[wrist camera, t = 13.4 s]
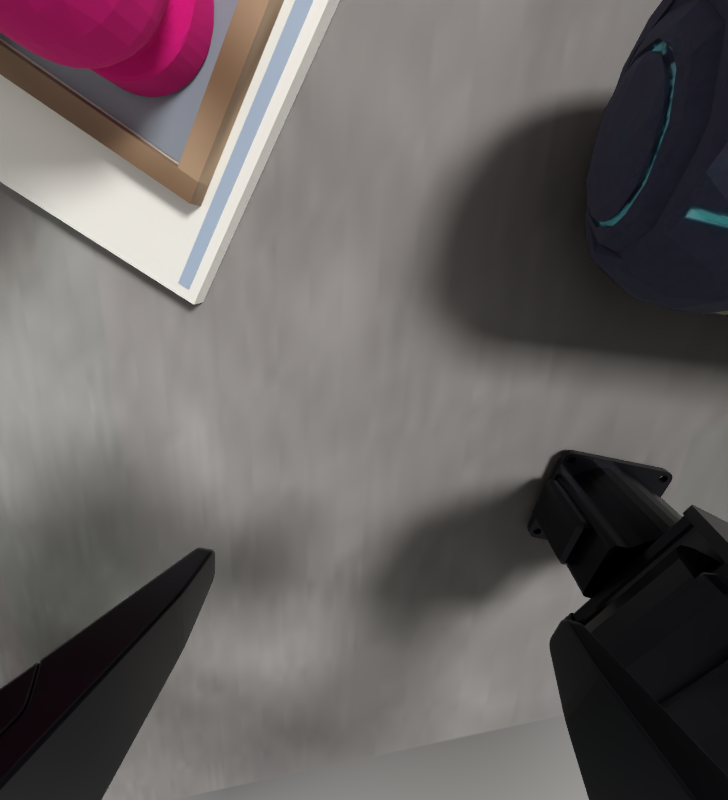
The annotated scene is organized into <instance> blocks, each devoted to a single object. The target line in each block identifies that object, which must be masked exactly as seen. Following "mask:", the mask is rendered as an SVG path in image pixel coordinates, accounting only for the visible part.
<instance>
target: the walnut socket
mask: <svg viewBox="0 0 728 800" xmlns="http://www.w3.org/2000/svg"><path fill="white" fill-rule="evenodd" d="M283 2H284V0H238V3H237V6H236V8H235V11H234V14H233V17H232V19H231V22H230V25H229V28H228V30H227V33H226V36H225V39H224V41H223V44H222V47H221V50H220V52H219V55H218V58H217V61H216V63H215V66H214V69H213V72H212V74H211V77H210V80H209V83H208V85H207V88H206V91H205V94H204V96H203V99H202V102H201V104H200V107H199V110H198V113H197V115H196V118H195V121H194V124H193V126H192V129H191V132H190V135H189V137H188V140H187V143H186V146H185V148H184V151H183V154H182V157H181V159H180V162H179V165H178V164H177V163H175V162H174V161H173V160H171V159H170V158H168V157H167V156H165V155H164V154H162V153H161V152H160V151H158V150H157V149H155V148H154V147H152V146H151V145H150V144H148V143H147V142H145V141H144V140H142V139H141V138H139V137H138V136H137V135H135V134H134V133H132V132H131V131H129V130H128V129H127V128H125V127H124V126H122V125H121V124H119V123H118V122H117V121H115V120H114V119H112V118H111V117H109V116H108V115H106V114H105V113H104V112H102V111H101V110H99V109H98V108H96V107H95V106H94V105H92V104H91V103H89V102H88V101H86V100H85V99H84V98H82V97H81V96H79V95H78V94H76V93H75V92H73V91H72V90H71V89H69V88H68V87H66V86H65V85H63V84H62V83H61V82H59V81H58V80H56V79H55V78H53V77H52V76H51V75H49V74H48V73H46V72H45V71H43V70H42V69H40V68H39V67H38V66H36V65H35V64H33V63H32V62H30V61H29V60H28V59H26V58H25V57H23V56H22V55H20V54H19V53H18V52H16V51H15V50H13V49H12V48H10V47H9V46H7V45H6V44H5V43H3V42H2V41H0V75H2V76H3V77H5V78H6V79H8V80H9V81H11V82H12V83H14V84H15V85H17V86H18V87H20V88H21V89H22V90H24V91H25V92H27V93H28V94H30V95H31V96H33V97H34V98H36V99H37V100H39V101H40V102H42V103H43V104H44V105H46V106H47V107H49V108H50V109H52V110H53V111H55V112H56V113H58V114H59V115H61V116H62V117H64V118H65V119H66V120H68V121H69V122H71V123H72V124H74V125H75V126H77V127H78V128H80V129H81V130H83V131H84V132H85V133H87V134H88V135H90V136H91V137H93V138H94V139H96V140H97V141H99V142H100V143H102V144H103V145H105V146H106V147H107V148H109V149H110V150H112V151H113V152H115V153H116V154H118V155H119V156H121V157H122V158H124V159H125V160H127V161H128V162H129V163H131V164H132V165H134V166H135V167H137V168H138V169H140V170H141V171H143V172H144V173H146V174H147V175H149V176H150V177H151V178H153V179H154V180H156V181H157V182H159V183H160V184H162V185H163V186H165V187H166V188H168V189H169V190H171V191H172V192H173V193H175V194H176V195H178V196H179V197H181V198H182V199H184V200H185V201H187V202H188V203H190V204H193V205H197V206H201V205H202V202H203V200H204V197H205V195H206V192H207V190H208V187H209V185H210V182H211V180H212V178H213V175H214V173H215V170H216V168H217V165H218V163H219V160H220V158H221V155H222V153H223V150H224V148H225V145H226V143H227V140H228V138H229V135H230V133H231V131H232V128H233V126H234V123H235V121H236V118H237V116H238V113H239V111H240V108H241V106H242V103H243V101H244V98H245V96H246V93H247V91H248V89H249V86H250V84H251V81H252V79H253V76H254V74H255V71H256V69H257V66H258V64H259V61H260V59H261V56H262V54H263V51H264V49H265V46H266V44H267V42H268V39H269V37H270V34H271V32H272V29H273V27H274V24H275V22H276V19H277V17H278V14H279V12H280V9H281V7H282V4H283Z"/></svg>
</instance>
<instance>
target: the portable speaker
mask: <svg viewBox="0 0 728 800" xmlns="http://www.w3.org/2000/svg"><path fill="white" fill-rule="evenodd" d="M586 190H587V209H586V223H585V234H586V238H587V242H588V246H589V250H590V254H591V258H592V259H593V260H594V261H595V262H596V263H597V264H598V265H599V266H600V267H601V268H602V269H603V270H604V271H605V272H606V273H607V274H608V275H609V276H610V277H611V278H612V279H613V280H614V281H615V282H616V283H617V284H618V285H619V286H620V287H621V288H622V289H623V290H624V291H625V292H627V293H628V294H629V295H630V296H631V297H632V298H635V299H638V300H641V301H645V302H648V303H651V304H655V305H658V306H661V307H664V308H668V309H671V310H678V311H686V312H695V313H704V314H708V313H716V314H723V315H728V0H663V1H662V2H661V3H660V5H659V6H658V7H657V9H656V10H655V11H654V13H653V14H652V15H651V17H650V18H649V20H648V22H647V24H646V26H645V28H644V29H643V31H642V33H641V35H640V37H639V39H638V41H637V42H636V44H635V46H634V48H633V50H632V52H631V54H630V56H629V57H628V59H627V61H626V63H625V65H624V67H623V69H622V72H621V75H620V78H619V81H618V84H617V86H616V89H615V92H614V94H613V96H612V98H611V99H610V101H609V103H608V105H607V107H606V109H605V111H604V114H603V117H602V121H601V124H600V128H599V131H598V135H597V139H596V143H595V147H594V150H593V154H592V159H591V163H590V167H589V171H588V176H587V180H586Z"/></svg>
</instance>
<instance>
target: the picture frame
mask: <svg viewBox="0 0 728 800" xmlns="http://www.w3.org/2000/svg"><path fill="white" fill-rule="evenodd" d="M339 1H340V0H284V2H283V4H282V7H281V9H280V12H279V14H278V17H277V19H276V22H275V24H274V27H273V29H272V32H271V34H270V37H269V39H268V42H267V44H266V46H265V49H264V51H263V54H262V56H261V59H260V61H259V64H258V66H257V69H256V71H255V74H254V76H253V79H252V81H251V84H250V86H249V89H248V91H247V93H246V96H245V98H244V101H243V103H242V106H241V108H240V111H239V113H238V116H237V118H236V121H235V123H234V126H233V128H232V131H231V133H230V135H229V138H228V140H227V143H226V145H225V148H224V150H223V153H222V155H221V158H220V160H219V163H218V165H217V168H216V170H215V173H214V175H213V178H212V180H211V182H210V185H209V187H208V190H207V192H206V195H205V197H204V200H203V202H202V205H201V206H197V205H193V204H190V203H188V202H187V201H185V200H184V199H182V198H181V197H179V196H178V195H176V194H175V193H173V192H172V191H171V190H169V189H168V188H166V187H165V186H163V185H162V184H160V183H159V182H157V181H156V180H154V179H153V178H151V177H150V176H149V175H147V174H146V173H144V172H143V171H141V170H140V169H138V168H137V167H135V166H134V165H132V164H131V163H129V162H128V161H127V160H125V159H124V158H122V157H121V156H119V155H118V154H116V153H115V152H113V151H112V150H110V149H109V148H107V147H106V146H105V145H103V144H102V143H100V142H99V141H97V140H96V139H94V138H93V137H91V136H90V135H88V134H87V133H85V132H84V131H83V130H81V129H80V128H78V127H77V126H75V125H74V124H72V123H71V122H69V121H68V120H66V119H65V118H64V117H62V116H61V115H59V114H58V113H56V112H55V111H53V110H52V109H50V108H49V107H47V106H46V105H44V104H43V103H42V102H40V101H39V100H37V99H36V98H34V97H33V96H31V95H30V94H28V93H27V92H25V91H24V90H22V89H21V88H20V87H18V86H17V85H15V84H14V83H12V82H11V81H9V80H8V79H6V78H5V77H3V76H2V75H0V182H1V183H3V184H5V185H6V186H8V187H9V188H11V189H12V190H14V191H16V192H17V193H19V194H20V195H22V196H23V197H25V198H27V199H28V200H30V201H31V202H33V203H34V204H36V205H38V206H39V207H41V208H42V209H44V210H45V211H47V212H49V213H50V214H52V215H53V216H55V217H56V218H58V219H60V220H61V221H63V222H64V223H66V224H68V225H69V226H71V227H72V228H74V229H75V230H77V231H79V232H80V233H82V234H83V235H85V236H86V237H88V238H90V239H91V240H93V241H94V242H96V243H97V244H99V245H101V246H102V247H104V248H105V249H107V250H108V251H110V252H112V253H113V254H115V255H116V256H118V257H119V258H121V259H123V260H124V261H126V262H127V263H129V264H130V265H132V266H134V267H135V268H137V269H138V270H140V271H141V272H143V273H145V274H146V275H148V276H149V277H151V278H152V279H154V280H156V281H157V282H159V283H160V284H162V285H163V286H165V287H167V288H168V289H170V290H171V291H173V292H174V293H176V294H178V295H179V296H181V297H182V298H184V299H186V300H187V301H189V302H190V303H192V304H193V305H194V304H198V303H202V302H203V301H204V299H205V297H206V295H207V293H208V290H209V288H210V286H211V284H212V282H213V279H214V277H215V275H216V273H217V270H218V268H219V266H220V264H221V262H222V259H223V257H224V255H225V253H226V251H227V248H228V246H229V244H230V242H231V240H232V237H233V235H234V233H235V231H236V229H237V226H238V224H239V222H240V220H241V218H242V215H243V213H244V211H245V209H246V207H247V204H248V202H249V200H250V198H251V195H252V193H253V191H254V189H255V187H256V184H257V182H258V180H259V178H260V176H261V173H262V171H263V169H264V167H265V165H266V162H267V160H268V158H269V156H270V154H271V151H272V149H273V147H274V145H275V143H276V140H277V138H278V136H279V134H280V131H281V129H282V127H283V125H284V123H285V120H286V118H287V116H288V114H289V112H290V109H291V107H292V105H293V103H294V101H295V98H296V96H297V94H298V92H299V90H300V87H301V85H302V83H303V81H304V79H305V76H306V74H307V72H308V70H309V67H310V65H311V63H312V61H313V59H314V56H315V54H316V52H317V50H318V48H319V45H320V43H321V41H322V39H323V37H324V34H325V32H326V30H327V28H328V26H329V23H330V21H331V19H332V17H333V15H334V12H335V10H336V8H337V6H338V4H339ZM237 3H238V0H214V27H213V34H212V39H211V44H210V48H209V51H208V54H207V56H206V58H205V60H204V62H203V64H202V66H201V67H200V69H199V71H198V73H197V74H196V76H195V77H194V78H193V79H192V80H191V81H190V82H189V83H188V84H186V85H185V86H184V87H182V88H181V89H179V90H178V91H176V92H174V93H171V94H167V95H164V96H160V97H146V96H140V95H136V94H133V93H130V92H128V91H126V90H124V89H122V88H120V87H118V86H116V85H115V84H113V83H112V82H110V81H108V80H107V79H105V78H103V77H102V76H100V75H99V74H97V73H95V72H94V71H92V70H91V69H80V68H72V67H68V66H64V65H60V64H57V63H54V62H52V61H49V60H47V59H45V58H42V57H40V56H38V55H35V54H34V53H32V52H31V51H29V50H27V49H26V48H24V47H22V46H21V45H19V44H18V43H16V42H15V41H13V40H11V39H10V38H8V37H7V36H5V35H4V34H2V33H1V32H0V41H2V42H3V43H5V44H6V45H7V46H9V47H10V48H12V49H13V50H15V51H16V52H18V53H19V54H20V55H22V56H23V57H25V58H26V59H28V60H29V61H30V62H32V63H33V64H35V65H36V66H38V67H39V68H40V69H42V70H43V71H45V72H46V73H48V74H49V75H51V76H52V77H53V78H55V79H56V80H58V81H59V82H61V83H62V84H63V85H65V86H66V87H68V88H69V89H71V90H72V91H73V92H75V93H76V94H78V95H79V96H81V97H82V98H84V99H85V100H86V101H88V102H89V103H91V104H92V105H94V106H95V107H96V108H98V109H99V110H101V111H102V112H104V113H105V114H106V115H108V116H109V117H111V118H112V119H114V120H115V121H117V122H118V123H119V124H121V125H122V126H124V127H125V128H127V129H128V130H129V131H131V132H132V133H134V134H135V135H137V136H138V137H139V138H141V139H142V140H144V141H145V142H147V143H148V144H150V145H151V146H152V147H154V148H155V149H157V150H158V151H160V152H161V153H162V154H164V155H165V156H167V157H168V158H170V159H171V160H173V161H174V162H175V163H177V164H178V165H179V162H180V159H181V157H182V154H183V151H184V148H185V146H186V143H187V140H188V137H189V135H190V132H191V129H192V126H193V124H194V121H195V118H196V115H197V113H198V110H199V107H200V104H201V102H202V99H203V96H204V94H205V91H206V88H207V85H208V83H209V80H210V77H211V74H212V72H213V69H214V66H215V63H216V61H217V58H218V55H219V52H220V50H221V47H222V44H223V41H224V39H225V36H226V33H227V30H228V28H229V25H230V22H231V19H232V17H233V14H234V11H235V8H236V6H237Z"/></svg>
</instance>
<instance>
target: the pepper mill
mask: <svg viewBox="0 0 728 800" xmlns="http://www.w3.org/2000/svg"><path fill="white" fill-rule="evenodd" d="M213 27H214V0H0V32H1V33H2V34H4V35H5V36H7V37H8V38H10V39H11V40H13V41H15V42H16V43H18V44H19V45H21V46H22V47H24V48H26V49H27V50H29V51H31V52H32V53H34V54H35V55H38V56H40V57H42V58H45V59H47V60H49V61H52V62H54V63H57V64H60V65H64V66H68V67H72V68H80V69H91V70H92V71H94V72H95V73H97V74H99V75H100V76H102V77H103V78H105V79H107V80H108V81H110V82H112V83H113V84H115V85H116V86H118V87H120V88H122V89H124V90H126V91H128V92H130V93H133V94H136V95H140V96H146V97H160V96H164V95H167V94H171V93H174V92H176V91H178V90H179V89H181V88H182V87H184V86H185V85H186V84H188V83H189V82H190V81H191V80H192V79H193V78H194V77H195V76H196V74H197V73H198V71H199V69H200V67H201V66H202V64H203V62H204V60H205V58H206V56H207V54H208V51H209V48H210V44H211V39H212V34H213Z"/></svg>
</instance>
